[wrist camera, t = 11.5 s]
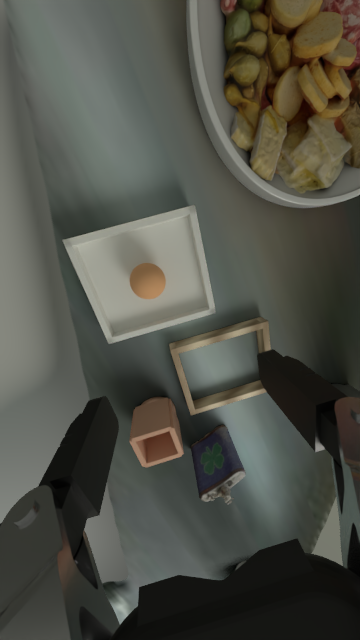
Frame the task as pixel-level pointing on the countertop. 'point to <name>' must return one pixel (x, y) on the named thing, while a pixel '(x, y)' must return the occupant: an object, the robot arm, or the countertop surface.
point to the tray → (132, 250)
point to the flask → (216, 465)
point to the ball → (147, 281)
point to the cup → (156, 432)
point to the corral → (212, 337)
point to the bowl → (281, 94)
